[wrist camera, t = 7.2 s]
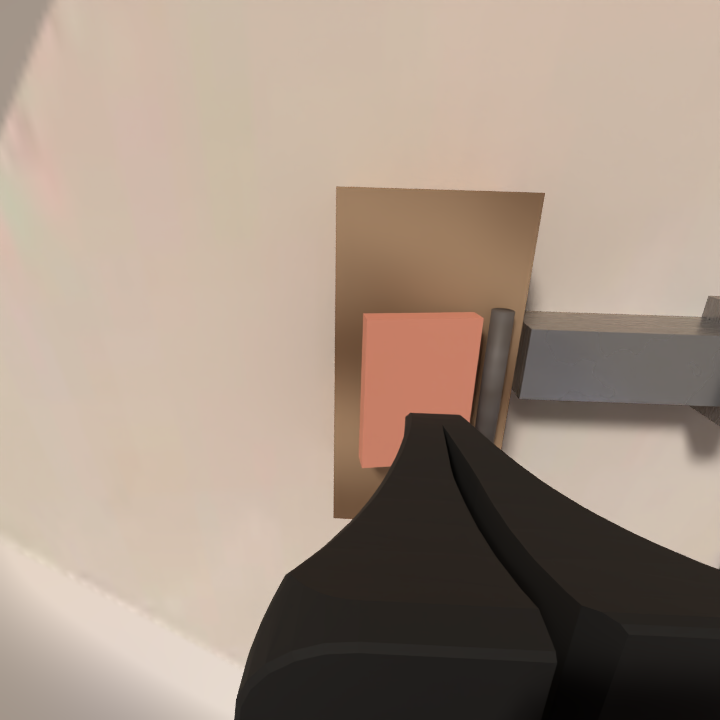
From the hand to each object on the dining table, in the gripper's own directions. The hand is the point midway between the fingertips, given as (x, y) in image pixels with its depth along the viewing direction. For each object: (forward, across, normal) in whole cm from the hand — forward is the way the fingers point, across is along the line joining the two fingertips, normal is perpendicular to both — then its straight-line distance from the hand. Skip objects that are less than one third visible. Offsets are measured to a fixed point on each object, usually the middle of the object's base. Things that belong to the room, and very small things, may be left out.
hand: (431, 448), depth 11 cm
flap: (+4, -2, 0) cm, 4 cm away
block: (+9, 0, 0) cm, 9 cm away
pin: (+9, -8, 0) cm, 12 cm away
